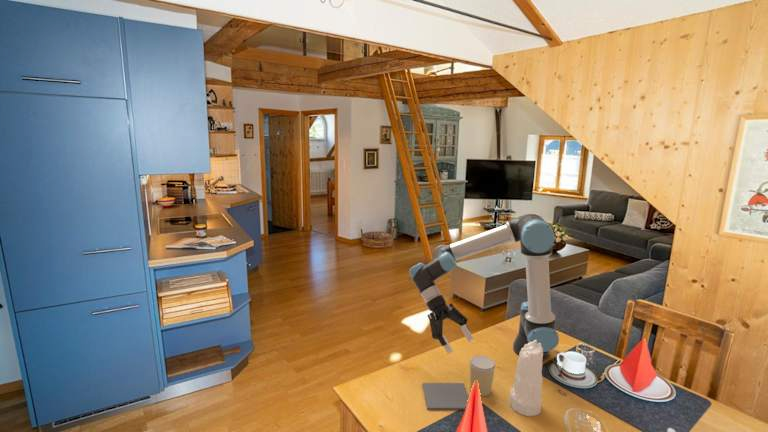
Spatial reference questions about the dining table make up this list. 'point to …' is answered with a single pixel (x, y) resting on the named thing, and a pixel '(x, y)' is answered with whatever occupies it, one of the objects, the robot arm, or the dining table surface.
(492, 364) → the coffee cup
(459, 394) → the charcoal mat
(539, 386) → the decorative vase
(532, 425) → the dining table surface
